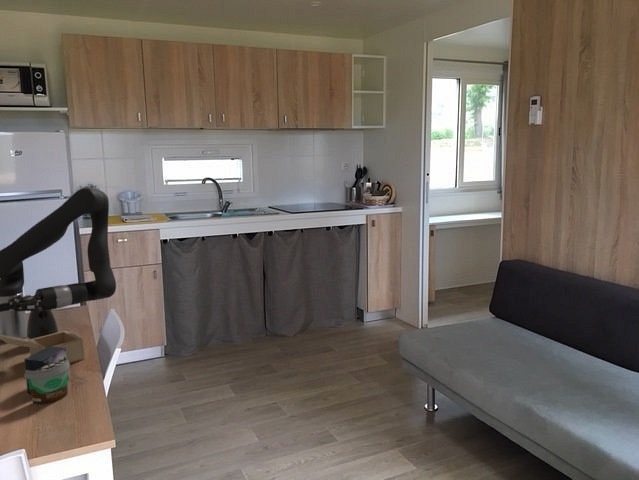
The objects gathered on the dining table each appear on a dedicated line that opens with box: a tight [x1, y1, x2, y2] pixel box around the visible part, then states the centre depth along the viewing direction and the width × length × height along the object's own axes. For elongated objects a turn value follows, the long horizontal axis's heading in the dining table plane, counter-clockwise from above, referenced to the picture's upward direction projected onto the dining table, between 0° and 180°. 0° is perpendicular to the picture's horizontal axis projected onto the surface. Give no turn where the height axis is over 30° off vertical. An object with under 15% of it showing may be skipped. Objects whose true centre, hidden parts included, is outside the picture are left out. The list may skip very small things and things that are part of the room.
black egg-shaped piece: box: [26, 308, 60, 340], centre depth 192 cm, size 10×10×15 cm
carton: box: [27, 330, 85, 365], centre depth 178 cm, size 15×13×7 cm
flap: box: [0, 335, 39, 349], centre depth 168 cm, size 11×1×9 cm
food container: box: [23, 357, 71, 405], centre depth 148 cm, size 12×6×10 cm, turn 148°
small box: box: [23, 347, 70, 394], centre depth 156 cm, size 11×6×10 cm, turn 168°
